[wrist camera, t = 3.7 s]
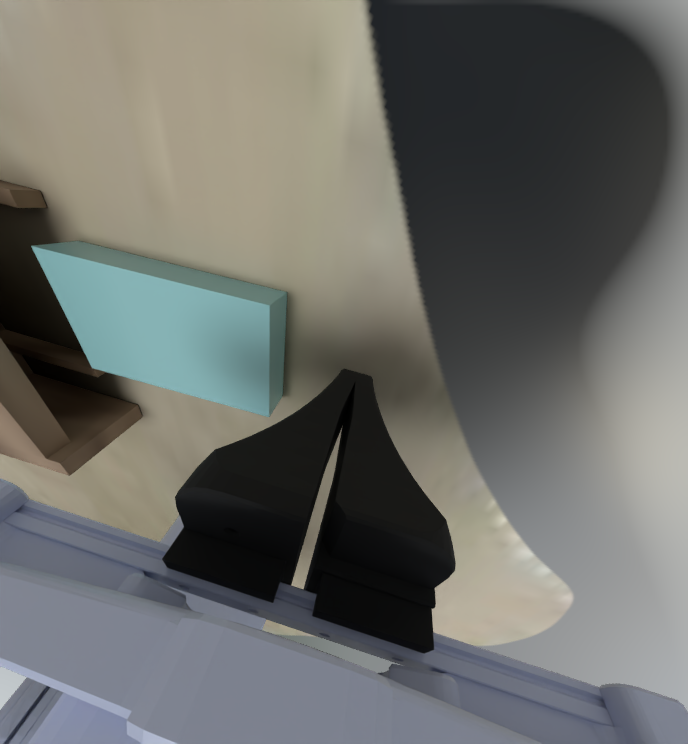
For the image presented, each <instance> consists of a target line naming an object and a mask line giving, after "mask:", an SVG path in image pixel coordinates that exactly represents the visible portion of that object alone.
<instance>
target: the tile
mask: <svg viewBox="0 0 688 744" xmlns="http://www.w3.org/2000/svg"><path fill="white" fill-rule="evenodd" d="M31 247H32V249H33V251H34V253H35V255H36V257H37V259H38V261H39V263H40V265H41V267H42V269H43V271H44V273H45V275H46V277H47V279H48V281H49V283H50V285H51V287H52V289H53V291H54V293H55V295H56V297H57V299H58V301H59V303H60V305H61V307H62V309H63V311H64V313H65V315H66V317H67V319H68V321H69V323H70V325H71V327H72V329H73V331H74V333H75V335H76V337H77V339H78V341H79V343H80V345H81V347H82V349H83V351H84V353H85V355H86V357H87V359H88V361H89V363H90V365H91V367H92V368H94V369H97V370H101V371H105V372H108V373H112V374H115V375H119V376H123V377H126V378H130V379H133V380H137V381H141V382H144V383H148V384H151V385H155V386H159V387H162V388H166V389H169V390H173V391H177V392H180V393H184V394H188V395H191V396H195V397H198V398H202V399H206V400H209V401H213V402H216V403H220V404H224V405H227V406H231V407H234V408H238V409H242V410H245V411H249V412H252V413H256V414H260V415H263V416H267V417H270V415H271V414H272V412H273V410H274V409H275V407H276V406H277V404H278V402H279V401H280V399H281V398H282V396H283V375H284V353H285V331H286V309H287V292H284V291H280V290H276V289H272V288H268V287H264V286H260V285H256V284H252V283H248V282H244V281H239V280H235V279H231V278H227V277H223V276H219V275H215V274H211V273H207V272H203V271H199V270H195V269H191V268H187V267H183V266H179V265H175V264H171V263H166V262H162V261H158V260H154V259H150V258H146V257H142V256H138V255H134V254H130V253H126V252H122V251H118V250H114V249H110V248H106V247H102V246H98V245H94V244H89V243H85V242H81V241H72V242H62V243H53V244H44V245H35V246H31Z"/></svg>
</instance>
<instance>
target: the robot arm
mask: <svg viewBox="0 0 688 744" xmlns="http://www.w3.org/2000/svg"><path fill="white" fill-rule="evenodd" d="M342 425H343V427H342ZM341 428H342V432H341V438H340V444H339V450H338V456H337V462H336V468H335V473H334V478H333V481H332V485H331V489H330V493H329V497H328V500H327V504H326V508H325V512H324V515H323V519H322V523H321V527H320V530H319V534H318V538H317V542H316V545H315V549H314V553H313V557H312V560H311V564H310V568H309V571H308V575H307V579H306V582H305V586H304V590H303V589H300V588H297V587H294V586H291V584H292V580H293V577H294V573H295V570H296V567H297V563H298V560H299V556H300V553H301V549H302V546H303V543H304V539H305V536H306V532H307V529H308V525H309V522H310V519H311V515H312V512H313V508H314V505H315V502H316V498H317V495H318V491H319V488H320V485H321V481H322V478H323V474H324V472H325V469H326V466H327V463H328V461H329V458H330V456H331V453H332V451H333V448H334V446H335V443H336V441H337V438H338V436H339V433H340V430H341ZM175 500H176V507H177V510H178V512H179V516H178V518H177V519H176V520H175V522H174V523H173V525H172V526H171V527H170V529H169V530H168V531H167V533H166V534H165V536H164V537H163V538H162V540H161V541H160V542H157V541H154V540H151V539H148V538H145V537H142V536H139V535H136V534H133V533H130V532H127V531H124V530H121V529H118V528H115V527H112V526H109V525H106V524H103V523H100V522H97V521H93V520H90V519H87V518H84V517H81V516H78V515H75V514H72V513H69V512H66V511H63V510H60V509H57V508H54V507H51V506H48V505H45V504H42V503H39V502H36V501H33V500H30V499H28V496H27V494H26V493H25V492H24V491H23V490H22V489H20V488H19V487H18V486H16V485H14V484H13V483H11V482H8V481H6V480H3V479H0V666H1V667H4V668H6V669H8V670H11V671H14V672H16V673H18V674H21V675H23V676H25V677H27V678H26V679H25V681H24V682H23V683H22V684H21V685H20V687H19V688H18V689H17V690H16V691H15V693H14V694H13V695H12V696H11V698H10V699H9V700H8V701H7V702H6V704H5V705H4V706H3V707H2V709H1V710H0V744H688V712H687V710H686V709H685V707H684V705H683V704H681V703H680V702H679V701H677V700H675V699H672V698H669V697H666V696H663V695H660V694H657V693H654V692H651V691H648V690H645V689H642V688H639V687H635V686H631V685H626V684H605V685H601V687H597V686H594V685H591V684H588V683H585V682H582V681H579V680H576V679H573V678H570V677H566V676H564V675H561V674H558V673H555V672H552V671H548V670H546V669H543V668H540V667H536V666H533V665H530V664H527V663H524V662H521V661H518V660H515V659H512V658H509V657H506V656H503V655H500V654H497V653H494V652H491V651H488V650H485V649H481V648H479V647H476V646H473V645H470V644H467V643H464V642H461V641H458V640H455V639H452V638H448V637H445V636H442V635H439V634H436V633H433V624H432V610H431V608H432V609H433V608H435V604H436V601H435V589H434V588H435V587H437V586H438V585H439V584H441V583H442V582H443V581H445V580H446V579H447V578H449V577H450V575H451V574H452V573H453V572H454V571H455V557H454V550H453V545H452V541H451V536H450V533H449V529H448V525H447V521H446V519H445V518H444V517H443V515H442V514H441V513H440V512H439V511H438V509H437V508H436V507H435V506H434V504H433V503H432V502H431V501H430V499H429V498H428V497H427V496H426V495H425V493H424V492H423V491H422V489H421V488H420V486H419V485H418V484H417V482H416V481H415V479H414V478H413V476H412V475H411V473H410V472H409V470H408V468H407V467H406V465H405V464H404V462H403V460H402V459H401V457H400V455H399V453H398V452H397V450H396V448H395V446H394V444H393V442H392V440H391V438H390V436H389V434H388V431H387V429H386V427H385V424H384V421H383V419H382V416H381V413H380V410H379V407H378V403H377V400H376V396H375V392H374V387H373V379H372V377H371V376H368V375H365V374H361V373H358V372H354V371H351V370H347V369H343V370H341V372H340V373H339V375H338V376H337V377H336V378H335V379H334V381H333V382H332V383H331V384H330V385H329V386H328V387H327V388H326V389H324V390H323V391H322V392H321V393H320V394H319V395H318V396H317V397H315V398H314V399H313V400H312V401H310V402H309V403H308V404H307V405H305V406H304V407H302V408H301V409H300V410H298V411H297V412H295V413H294V414H292V415H290V416H289V417H287V418H285V419H284V420H282V421H280V422H278V423H277V424H275V425H273V426H271V427H269V428H267V429H265V430H263V431H260V432H258V433H256V434H254V435H252V436H250V437H247V438H245V439H242V440H240V441H237V442H235V443H232V444H229V445H227V446H224V447H221V448H218V449H215V450H214V451H213V452H212V453H211V454H210V455H209V456H208V457H207V458H206V459H205V460H204V461H203V462H202V463H201V464H200V465H199V466H198V467H197V468H196V470H195V471H194V472H193V473H192V475H191V476H190V477H189V479H188V480H187V481H186V482H185V484H184V485H183V486H182V487H181V489H180V490H179V491H178V493H177V495H176V497H175ZM266 619H267V620H270V621H273V622H276V623H279V624H282V625H285V626H288V627H291V628H294V629H297V630H300V631H303V632H306V633H309V634H312V635H315V636H318V637H321V638H324V639H326V640H329V641H333V642H335V643H338V644H341V645H344V646H347V647H350V648H353V649H356V650H359V651H362V652H365V653H368V654H371V655H374V656H377V657H380V658H383V659H386V660H389V661H392V662H395V663H398V664H400V665H397V664H392V665H391V666H390V667H389V671H387V672H384V673H376V672H374V671H372V670H369V669H367V668H364V667H362V666H359V665H357V664H354V663H352V662H349V661H346V660H343V659H341V658H339V657H336V656H333V655H331V654H328V653H325V652H323V651H320V650H317V649H314V648H312V647H309V646H307V645H304V644H301V643H297V642H295V641H292V640H289V639H286V638H283V637H280V636H277V635H274V634H271V633H268V632H265V631H262V628H263V626H264V624H265V621H266ZM402 665H403V666H402Z"/></svg>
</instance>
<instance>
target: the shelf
mask: <svg viewBox="0 0 688 744" xmlns="http://www.w3.org/2000/svg"><path fill="white" fill-rule="evenodd" d="M0 203H1V204H5V205H9V206H13V207H16V208H47V206H46V204H45V202H44V199H43V197H42V194H41V192H40V191H39V190H35V189H31V188H27V187H23V186H20V185H16V184H12V183H8V182H4V181H1V180H0ZM21 354H22V355H25V356H28V357H32V358H35V359H38V360H42V361H45V362H48V363H52V364H55V365H58V366H62V367H65V368H68V369H72V370H75V371H78V372H82V373H85V374H88V375H92V376H95V377H99V376H100V375H102V374H104V373H106V372H105V371H101V370H97V369H94V368H92V367H91V365H90V363H89V361H88V359H87V357H86V355H85V353H83V352H80V351H76V350H73V349H70V348H66V347H63V346H59V345H56V344H53V343H49V342H46V341H43V340H39V339H36V338H32V337H29V336H26V335H22V334H19V333H15V332H12V331H9V330H5V329H4V327H3V326H2V324H1V322H0V453H1V454H4V455H7V456H10V457H13V458H16V459H19V460H22V461H25V462H28V463H32V464H35V465H38V466H41V467H44V468H47V469H50V470H53V471H56V472H60V473H63V474H66V475H69V476H70V475H71V474H73V473H74V472H75V471H76V470H78V469H79V468H80V467H81V466H82V465H84V464H85V463H86V462H87V461H89V460H90V459H91V458H92V457H94V456H95V455H96V454H97V453H99V452H100V451H101V450H102V449H104V448H105V447H106V446H107V445H108V444H110V443H111V442H112V441H113V440H115V439H116V438H117V437H118V436H120V435H121V434H122V433H123V432H125V431H126V430H127V429H128V428H130V427H131V426H132V425H133V424H134V423H136V422H137V421H138V420H139V419H141V418H142V414H141V412H140V409H139V407H138V405H136V404H133V403H129V402H126V401H123V400H119V399H116V398H113V397H110V396H106V395H103V394H100V393H96V392H93V391H90V390H86V389H83V388H80V387H76V386H73V385H70V384H67V383H63V382H60V381H57V380H53V379H50V378H47V377H43V376H40V375H37V374H34V373H33V372H32V370H31V369H30V367H29V365H28V364H27V362H26V361H25V359H24V358H23V356H22V355H21Z"/></svg>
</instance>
